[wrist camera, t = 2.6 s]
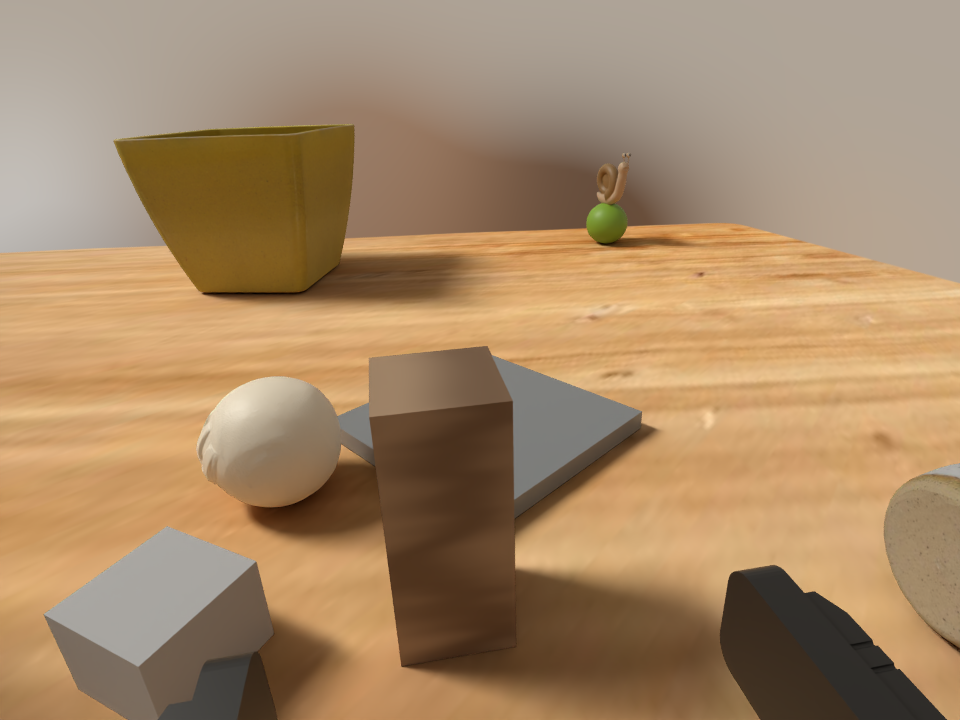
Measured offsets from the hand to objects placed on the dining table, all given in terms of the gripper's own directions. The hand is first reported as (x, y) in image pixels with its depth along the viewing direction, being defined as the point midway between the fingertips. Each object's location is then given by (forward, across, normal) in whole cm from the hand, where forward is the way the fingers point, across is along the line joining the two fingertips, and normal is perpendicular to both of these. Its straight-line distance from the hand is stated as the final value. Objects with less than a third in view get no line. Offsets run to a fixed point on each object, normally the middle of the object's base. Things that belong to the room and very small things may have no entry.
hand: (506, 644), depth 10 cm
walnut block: (+12, 0, +11) cm, 16 cm away
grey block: (+11, +11, +11) cm, 19 cm away
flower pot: (+66, +15, +10) cm, 68 cm away
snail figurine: (+70, -28, +11) cm, 76 cm away
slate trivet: (+25, -4, +11) cm, 28 cm away
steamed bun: (+22, +8, +11) cm, 26 cm away
